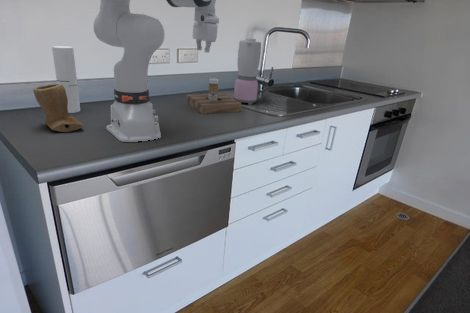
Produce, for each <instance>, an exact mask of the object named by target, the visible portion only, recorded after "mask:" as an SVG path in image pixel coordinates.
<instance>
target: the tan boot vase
mask: <svg viewBox="0 0 470 313" xmlns="http://www.w3.org/2000/svg"><path fill="white" fill-rule="evenodd" d="M33 94H34V98H35V100H36V102H37V103H38V105H39V106H40V108H41V110H42V111H43V112H44V114H45V116H46V119H45V120H44V122H45V125H47V126H48V127H49V128H50V129H51V130H52V131H56V132H60V133H61V132H63V133H69V132H74V131H77V130H80V129H82V128H83V127H84V125H83V124H82V123H81V121H79V120H78V119H77V118H76V117H74V116H73V115H69V113H68V107H67V106H68V99H67V95H66V91H65V88H64V86H63V85H62V84H57V83H50V84H44V85H39V86H36V87H34V88H33Z"/></svg>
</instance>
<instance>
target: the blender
mask: <svg viewBox="0 0 470 313" xmlns="http://www.w3.org/2000/svg"><path fill="white" fill-rule="evenodd" d="M256 40H257V39H256V38H251V37H250V38H249V37H245V39H244V40H242V39H241V40H239V44H238V49H237V50H238V51H237V78H236V79H235V82H234V90H233V99H234V100H236V101H238V102H240V103H248V104H247V105H248V106H253V103H256V102H257V97H258V89H259V88H258V87H259V83H258V79H257V75H258V70H259V67H260V62H261V53H262V43H261V41H256Z"/></svg>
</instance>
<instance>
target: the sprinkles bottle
mask: <svg viewBox="0 0 470 313" xmlns="http://www.w3.org/2000/svg"><path fill="white" fill-rule="evenodd" d="M219 81H220V80H219V79H218V78H209V79H208V85H209V87H208V94H209V100H210V101H217V99H218V94H219Z"/></svg>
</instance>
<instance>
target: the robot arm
mask: <svg viewBox="0 0 470 313" xmlns="http://www.w3.org/2000/svg"><path fill="white" fill-rule="evenodd" d="M165 1H166V3H167V4H168V5H169V6H170V7H173V8H194V17H193V18H194V20H193V21H194V22H193V25H192V27H193V28H192V38H193V39H194V40H195V43H196V50H197V51H202V49H203V48H202V47H203V46H202V42H205V47H204V53H210V50H211V46H212V43H215V42H216V41H217V38H218V37H217V36H218V24H219V23H220V18H219V17H218V15H217V14H216V7H215V6H216V1H217V0H165ZM130 3H131V0H100V6H99V12H98V14H97V15H96V17H95V18H94V21H93V33H94V34H95V36H96V38H97V39H98V40H99V41H100V42H102V43H104V44H106V45H108V46H112V47H116V48H123V56H122V58H121V59H120V60H119V61H117V62H116V63H115V64H114V66H113V79H114V80H113V81H114V89H113V98H114V99H113V100H114V102H113V103H112V104H111V105H110V124H108V125H106V127H105V128H106V130H107V131H108V132H109V133H110V134H111V135H113V137H114V138H116V139H117V140H118V141H119V142H123V143H139V142H138V141H142V142H149V141H148V140H150V141H154V139H156V140H159V139H161V138H162V134H161V130H160V129H161V128H160V124H159V115H155V114H156V109H153V103H152V102H150V101H151V99H150V97H151V96H150V91H149V88H148V86H149V85H148V76H149V74H148V73H149V65H150V61H151V58H153V55H154V53H155V52H156V51H157V50H158V49H160V47H161V46H162V45H163V43H164V41H165V30H164V29H165V28H164V25H163V24H162V23H161V21H160V20H159V19H158V18H155V17H154V16H153V17H152V16H150V15H148V14H144V13H143V14H141V13H132V12H131V10H130ZM158 138H159V139H158Z"/></svg>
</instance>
